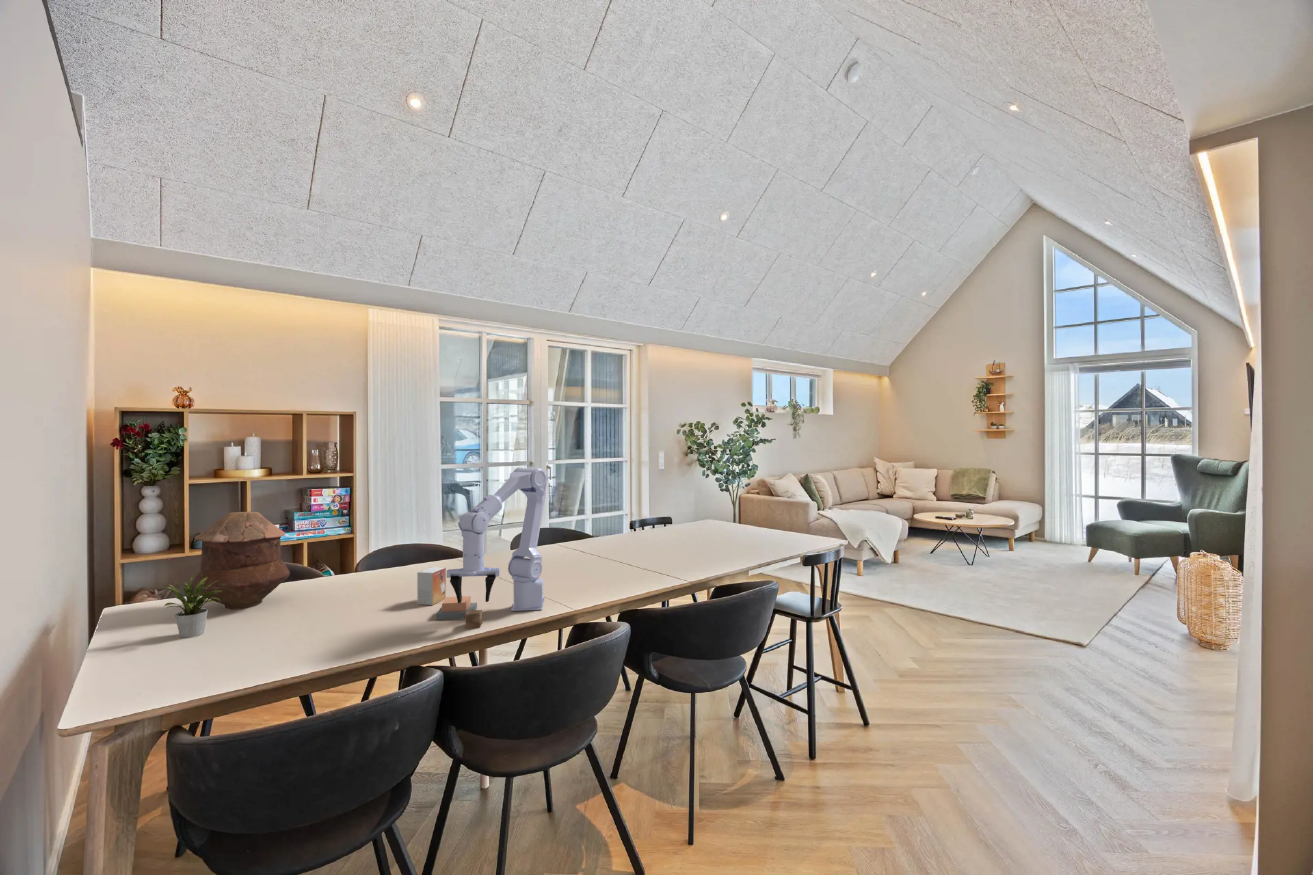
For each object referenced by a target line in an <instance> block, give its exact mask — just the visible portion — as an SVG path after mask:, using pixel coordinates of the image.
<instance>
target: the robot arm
mask: <svg viewBox="0 0 1313 875" xmlns="http://www.w3.org/2000/svg"><path fill="white" fill-rule="evenodd" d="M547 485H548V475H547V474H546V472H545V471H544V469H543V468H541V467H537V468H531V467H528V468H527V467H516V468H515V469H514V470H513V471H511V472H510V473H509V477H508V478H507V480H506V481H505V482H504V483H503V484H502V485H501V487H500V488H499V489H498V490H497V491H496V492H495V493H494V494H489V495H484V496H483V498H482V500H481V501H480V502H479V503H478V504H477V505H476V506H474V507H472V510H471V511H465V513H463V514H462V515H461V516H460V519H459V522H458V523H457V525H458V529H459V530H460V533H461V537H462V568H454V569H453V568H452V569H446V579H447V578H449V583H450V584H451V586H452V588H453V590H454V593H455V597H457V601H458V603H461V601H462V596H463V595H462V592H463V591H462V585H463V584H462V582H463V577H468V578H469V577H485V578H484V579H485V580H484V582H485V603H488V602H489V601H490V595H491V591H492V588H493V585H494V582H495V580H496V579H497V577H500V574H501V568H500V567H485V551H484V550H485V545H484V544H485V542H484V541H485V535H484V534H485V531H487V529H488V527H489V524H490V522H491V520H492V519H493V518H494V517H495V516H496V515H497V514H498V513H499V512H500V511H502V508H503V503H504V502H505V501H506V500H507V499H509V498H510V497H512V495H514V494H515V493H516V492H517V491H519V490H520V492H522V493H523V494H524V495H525V497H526V498H527V502H526V505H525V506H526V507H525V513H524V519H523V524H522V529H521V535H520V541H519V546H518V548H516V549H515V550H514V551H513V552H512V555H511V558H510V560H509V562H508V565H507V571H508V574H509V575H510V576H511V579H512V580H513V603H512V606H511V608H510V611H511V612H519V611H541V610H543V609H544V603H545V596H544V578H540V576H541V575H542V571H543V564H542V560H543V556H542V554H541V553H540V552H539V551H538V549H537V547H538V543H539V542H538V541H539V538H540V537H539V536H540V529H541V525H542V521H543V520H542V518H543V513H544V509H545V508H544V506H545V501H546V493H547V492H546V490H547Z"/></svg>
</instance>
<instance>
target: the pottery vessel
mask: <svg viewBox="0 0 1313 875" xmlns="http://www.w3.org/2000/svg"><path fill="white" fill-rule="evenodd" d="M285 535H286V532H285V531H283V530H282V529H281V528H279V527H277V525H275V524H273V523H272V522H271V521H269V519H267V518H265V517H264V515H263V514H261V513H260V512H258V511H237V512H235V511H234V512H229V513H226V514H225V515H224V516H222V517H221V518H219V519H218V520H216V521H215V522H214V523H213V524H211V526H209V527H208V528H207V529H205V530H204V531H203V532H200V533H198V534H196V535H195V536H194V540H196V541H197V542H201V548H200V549H201V555H200V556H201V558H200V564H199V565H200V570H199V571H198V573H197V574H196V575H195V577H194V578H193V579H192V584H193V585H192V593H193V592H194V589H195V588H196V586H197V585H198V583H199V582H200V581H201V580H203V579H204V578H205V577H208V578H207V579H206V581H205V585H204V586H203V587H204V588H207V587H208V585H210V584H211V585H210V586H209V587H208V588H207V589H206V590H205V589H204V588H202V591H201V593H200V595H201V594H204V593H209V592H212V591H221V592H217V593H215V594H213V595H210V596H209V597H208V598H212V597H217V598H219V600H218V599H209V600H214V602H215V603H218V604H221V605H223V606H224V608H225V609H226V610H239V609H241V610H242V609H247V608H250V607H251V608H252V607H255V606H258V605H260V604H262V603H263V600H264V599H265V598H266V597H267V596H268V595H269V594H271V593H272V592H273V591H274V590H275V589H276V588H277V587H279V585H281V584H282V583H283V582H285V581H286V580H287V579H288V578H289V577H290V575H291V572H290V570H289V568H288V567H287V565H286V563H285V561H283V560H282V558H281V556H282V553H281V552H282V551H281V537H284V536H285ZM217 580H218V581H217ZM215 581H216V582H215ZM213 582H214V583H213ZM212 583H213V584H212ZM205 586H206V587H205ZM204 590H205V591H204ZM203 591H204V592H203ZM202 596H203V595H202ZM202 596H201V597H202ZM208 598H207V599H208ZM207 599H206V600H207Z"/></svg>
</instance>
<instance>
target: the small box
mask: <svg viewBox="0 0 1313 875" xmlns="http://www.w3.org/2000/svg"><path fill="white" fill-rule="evenodd" d="M416 574H417V582H416V583H417V586H416V588H417V590H416V591H417V595H416V596H417V605H423V606H424V605H426V606H433V605H435V604H437V603H439V602H442V601H444V600H445V599H446V598H447V596H446V595H447V591H446V590H447V589H446V588H447V586H446V585H447V582H446V581H447V569H446V567H439V566H431V567H429V568H426V569H423V570H421V571H417V573H416Z"/></svg>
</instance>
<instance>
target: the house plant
mask: <svg viewBox="0 0 1313 875" xmlns="http://www.w3.org/2000/svg"><path fill="white" fill-rule="evenodd" d="M207 578H208V577H205V578H204V579H203V580H201V581H200V582H199V583H198V585H197V586H196V588H195V589H194V592H193V591H192V585H193V584H192V583H193V580H194V574H192V575H191V577H190V580H189V584H188V583H187V582H185V581H183V585H184V587H182V586H180V588H181V589H182V591H183V593H184V595H185V597H186V598H185V597H184V596H183V594H182V593H181V592H180V590H178V589H177V588H176V587H174V586H173V585H171V584H169V586H166V587H165V586H161V587H160V586H158V587H157V586H156V587H155V589H156V588H164V589H167V590H169V591H171V592H172V593H173V594H175V595H176V597H175V598H176V599H178V600H179V601H180V602H181V603H182V605H183V606H181V605H179V604H177V603H176V602H175V603H174V602H167V603H165V604H164V605H163V607H166V606H167V607H166V609H168V608H171V607H172V608H173V607H174V605H175V606H176V607H177V608H180V609H182V611H179V612H176V613H175V614H174V616H175V622H176V625H177V630H178V634H179V638H181V639H189V638H194V637H195V636H196V637H199V636H201V635H204V632H205V629H206V624H207V618H208V617H207V616H208V611H209V609H208V608H204V607H203V606H204V605H205V604H206V603H210V602H211V603H215V604H216V602H215V601H214V600H210V599H218V600H219V598H217V597H212V598H208V597H209V596H210V595H213V594H215V593H217V592H221V591H212V592H209V593H204V594H201V595H200V593H201V591H202V588H204V587H203V586H204V585H205V581H206V579H207ZM217 581H218V580H217ZM215 582H216V581H215ZM171 583H172V584H174V583H175V582H173V581H172V582H171ZM213 583H214V582H213ZM213 583H212V584H213ZM176 584H177V585H179V583H178V582H176ZM210 585H211V584H210ZM210 585H208V587H209V586H210ZM205 587H206V586H205ZM208 587H207V588H208ZM207 588H204V589H205V590H206V589H207ZM205 590H204V591H205ZM204 591H203V592H204ZM202 595H203V596H202ZM207 598H208V599H207ZM202 607H203V608H202Z"/></svg>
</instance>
